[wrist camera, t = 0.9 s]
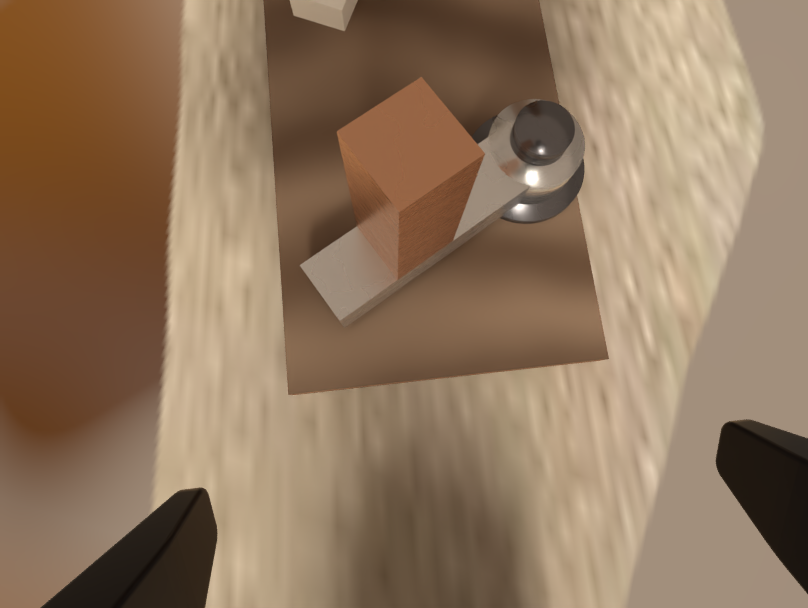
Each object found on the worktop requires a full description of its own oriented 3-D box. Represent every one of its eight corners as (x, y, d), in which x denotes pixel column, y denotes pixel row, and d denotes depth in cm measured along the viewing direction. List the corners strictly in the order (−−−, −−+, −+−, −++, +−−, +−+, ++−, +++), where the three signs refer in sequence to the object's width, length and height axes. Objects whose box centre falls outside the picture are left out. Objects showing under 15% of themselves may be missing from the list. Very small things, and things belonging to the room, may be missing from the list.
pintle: (591, 217, 24) (626, 185, 20) (472, 229, 24) (486, 198, 20) (570, 110, 25) (599, 60, 21) (456, 120, 25) (467, 72, 21)
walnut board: (598, 360, 24) (608, 358, 22) (293, 394, 23) (288, 394, 22) (521, -44, 28) (526, -63, 27) (266, -24, 28) (261, -43, 26)
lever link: (587, 172, 24) (711, 25, 14) (353, 340, 22) (323, 295, 13) (531, 108, 24) (615, -73, 15) (299, 265, 23) (232, 170, 13)
